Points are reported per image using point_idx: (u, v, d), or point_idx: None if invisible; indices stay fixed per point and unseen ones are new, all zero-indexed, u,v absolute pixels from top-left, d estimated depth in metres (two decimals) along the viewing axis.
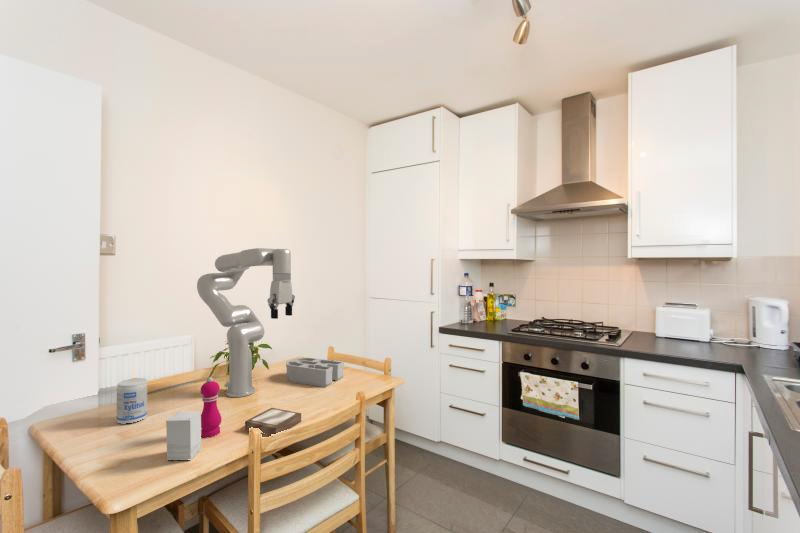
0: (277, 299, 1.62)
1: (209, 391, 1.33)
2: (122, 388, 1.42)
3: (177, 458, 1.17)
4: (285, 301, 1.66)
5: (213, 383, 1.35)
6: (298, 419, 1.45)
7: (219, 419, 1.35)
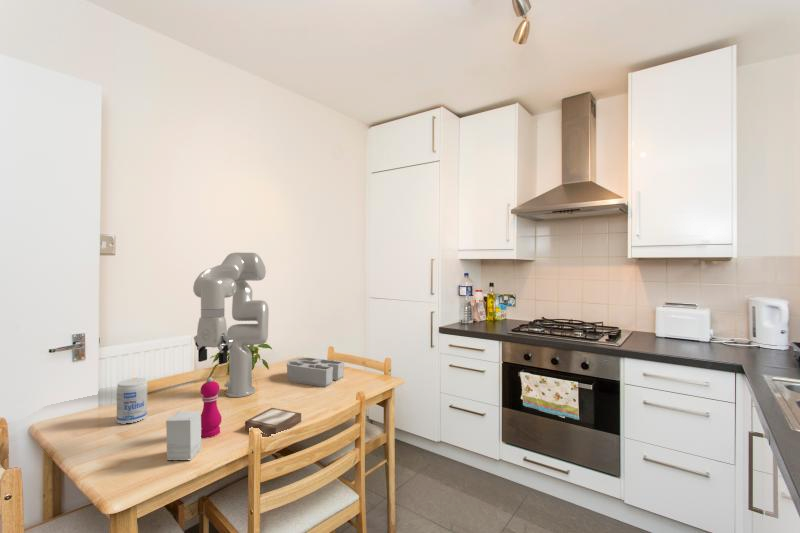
0: None
1: (209, 391, 1.33)
2: (122, 388, 1.42)
3: (177, 458, 1.17)
4: None
5: (213, 383, 1.35)
6: (298, 419, 1.45)
7: (219, 419, 1.35)
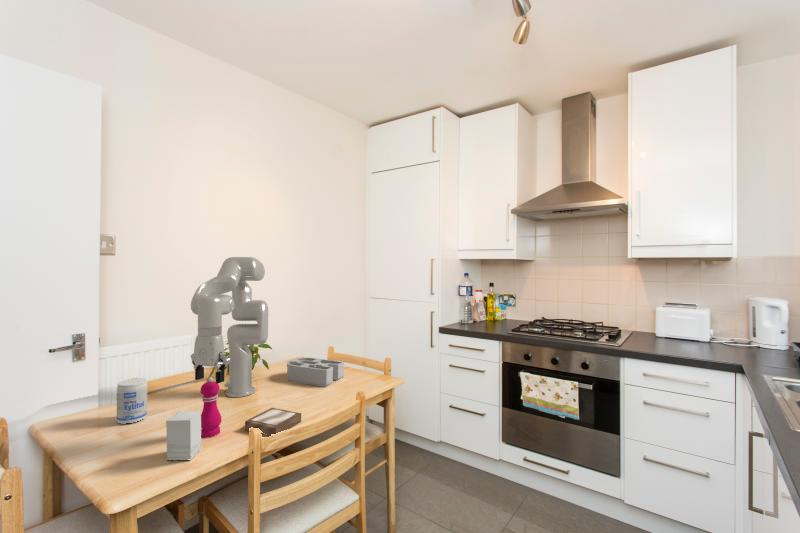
0: None
1: (209, 391, 1.33)
2: (122, 388, 1.42)
3: (177, 458, 1.17)
4: None
5: (213, 383, 1.35)
6: (298, 419, 1.45)
7: (219, 419, 1.35)
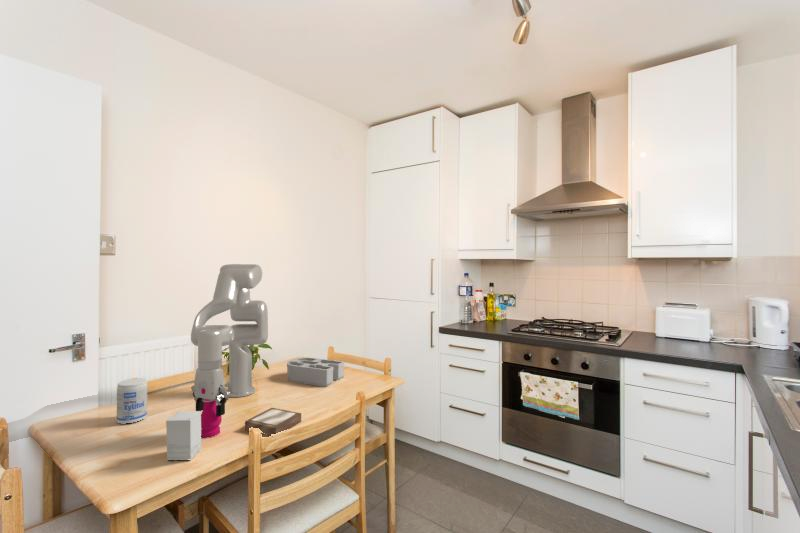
0: None
1: None
2: (122, 388, 1.42)
3: (177, 458, 1.17)
4: None
5: None
6: (298, 419, 1.45)
7: (219, 419, 1.35)
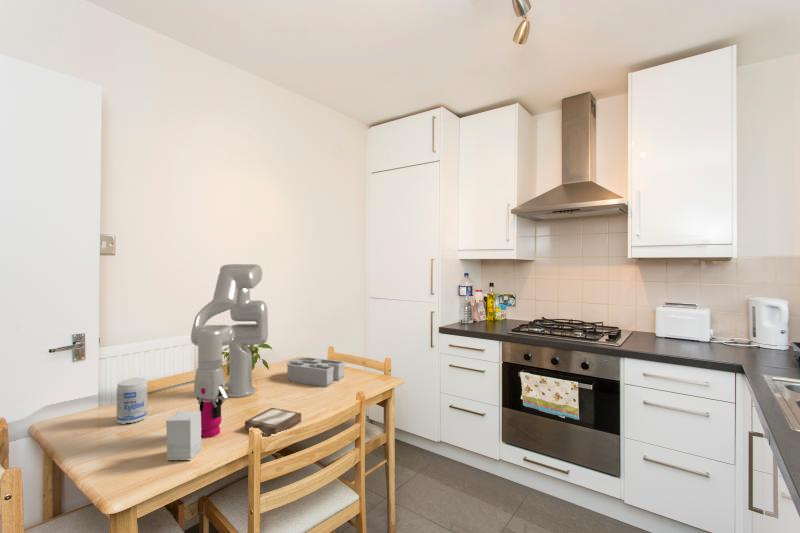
0: (224, 390, 1.35)
1: None
2: (122, 388, 1.42)
3: (177, 458, 1.17)
4: None
5: None
6: (298, 419, 1.45)
7: (219, 419, 1.35)
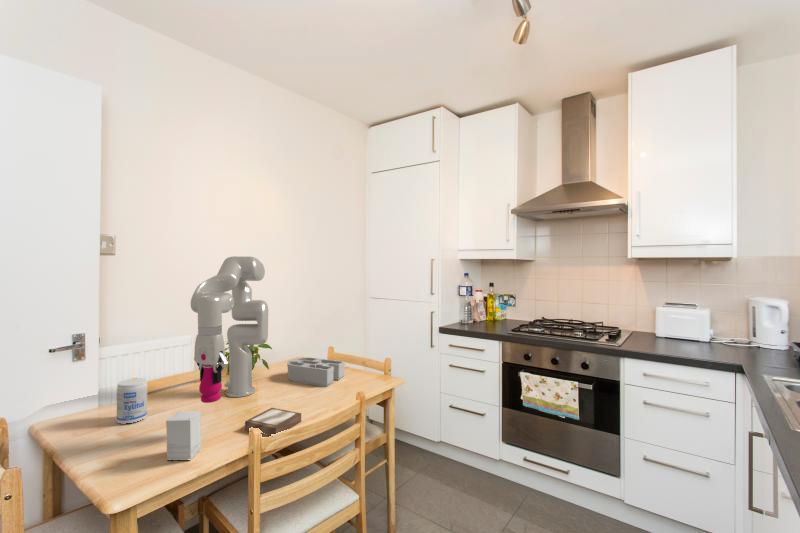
0: (224, 356, 1.35)
1: None
2: (122, 388, 1.42)
3: (177, 458, 1.17)
4: None
5: None
6: (298, 419, 1.45)
7: (219, 385, 1.36)
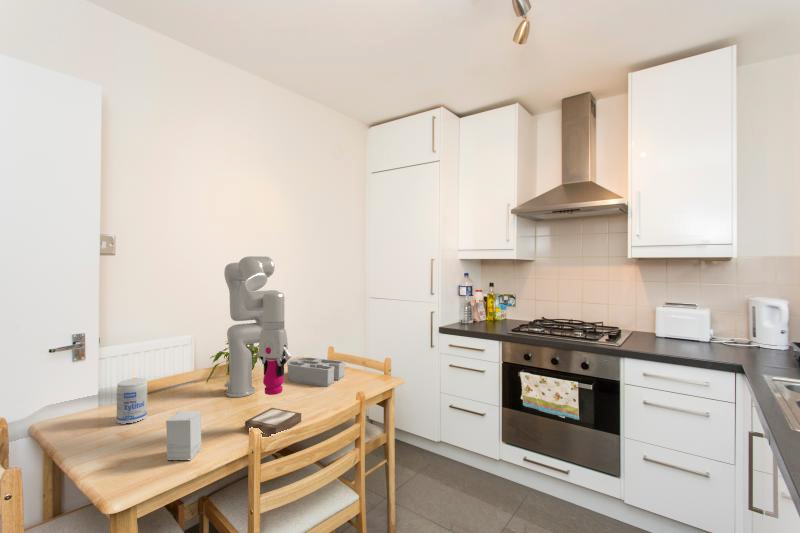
0: None
1: None
2: (122, 388, 1.42)
3: (177, 458, 1.17)
4: None
5: None
6: (298, 419, 1.45)
7: (282, 378, 1.42)
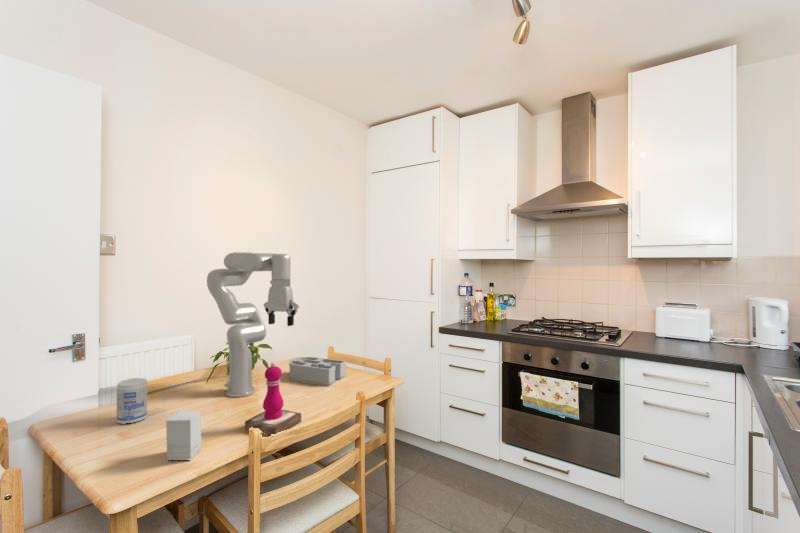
0: (293, 305, 1.60)
1: (274, 375, 1.40)
2: (122, 388, 1.42)
3: (177, 458, 1.17)
4: None
5: (276, 368, 1.42)
6: (298, 419, 1.45)
7: (282, 402, 1.42)
